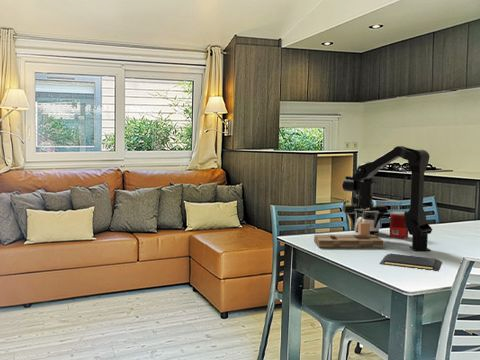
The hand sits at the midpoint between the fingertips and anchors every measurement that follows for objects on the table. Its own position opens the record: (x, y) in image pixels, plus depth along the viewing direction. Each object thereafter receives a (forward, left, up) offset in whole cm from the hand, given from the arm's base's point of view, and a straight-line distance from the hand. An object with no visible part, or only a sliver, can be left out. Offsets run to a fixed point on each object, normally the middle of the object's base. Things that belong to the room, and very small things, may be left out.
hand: (364, 228), depth 209 cm
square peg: (0, 0, -5) cm, 5 cm away
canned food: (+4, -17, -5) cm, 18 cm away
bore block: (-12, +10, -5) cm, 16 cm away
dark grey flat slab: (-40, -6, -6) cm, 41 cm away
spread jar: (+14, -5, -5) cm, 16 cm away
